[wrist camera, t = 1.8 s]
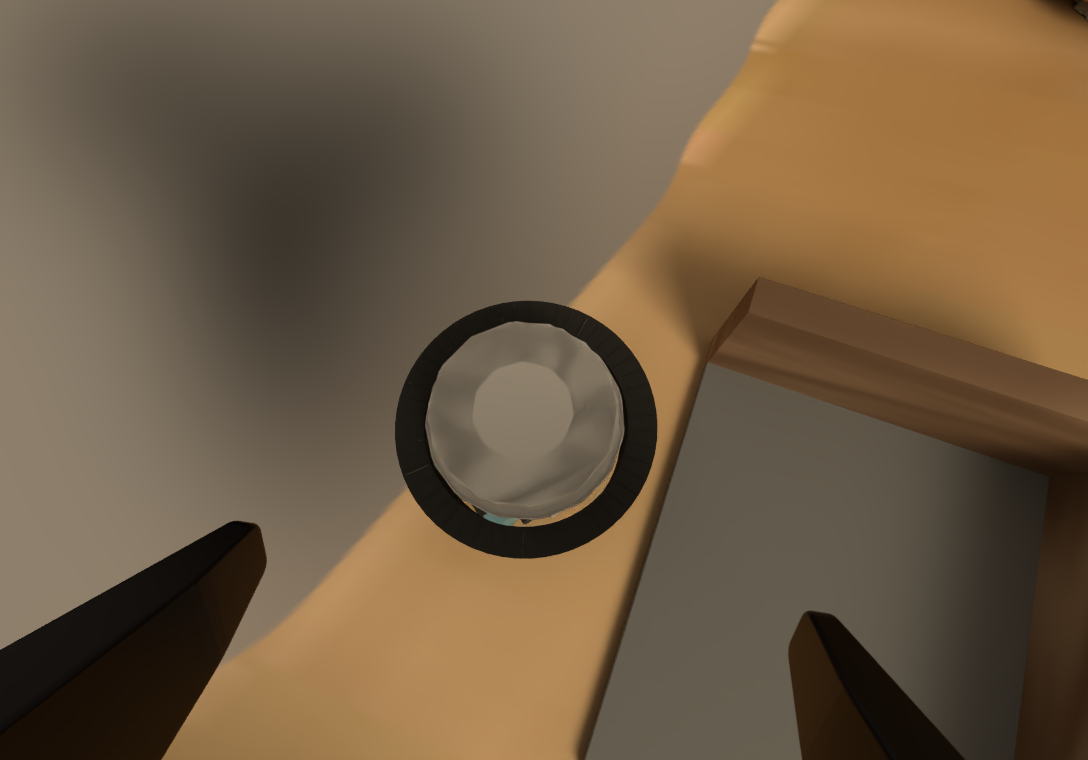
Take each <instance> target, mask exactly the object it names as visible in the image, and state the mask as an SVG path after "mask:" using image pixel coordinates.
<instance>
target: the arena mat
mask: <svg viewBox="0 0 1088 760" xmlns="http://www.w3.org/2000/svg"><path fill="white" fill-rule="evenodd" d="M1048 484H1049V477H1048V476H1045V475H1042V474H1039V473H1036V472H1033V471H1030V470H1027V469H1024V468H1021V467H1018V466H1015V465H1012V464H1009V463H1007V462H1004V461H1001V460H998V459H995V458H992V457H989V456H986V455H983V454H980V453H977V452H974V451H971V450H968V449H965V448H962V447H959V446H956V445H953V444H950V443H947V442H944V441H941V440H938V439H935V438H932V437H929V436H926V435H923V434H920V433H917V432H914V431H911V430H908V429H905V428H902V427H899V426H896V425H893V424H890V423H887V422H884V421H881V420H878V419H875V418H872V417H869V416H866V415H863V414H860V413H857V412H854V411H851V410H848V409H845V408H842V407H839V406H836V405H833V404H831V403H828V402H825V401H822V400H819V399H816V398H813V397H810V396H807V395H804V394H801V393H798V392H795V391H792V390H789V389H786V388H783V387H780V386H777V385H774V384H771V383H768V382H765V381H762V380H759V379H756V378H753V377H750V376H747V375H744V374H741V373H738V372H735V371H732V370H729V369H726V368H723V367H720V366H717V365H714V364H711V363H707V364H706V365H705V368H704V371H703V374H702V377H701V380H700V384H699V387H698V390H697V393H696V397H695V400H694V403H693V406H692V410H691V413H690V416H689V419H688V423H687V426H686V429H685V432H684V436H683V439H682V442H681V445H680V448H679V452H678V455H677V458H676V461H675V465H674V468H673V471H672V474H671V478H670V481H669V484H668V487H667V491H666V494H665V497H664V500H663V503H662V507H661V510H660V513H659V516H658V520H657V523H656V526H655V529H654V533H653V536H652V539H651V542H650V546H649V549H648V552H647V555H646V559H645V562H644V565H643V568H642V571H641V575H640V578H639V581H638V584H637V588H636V591H635V594H634V597H633V601H632V604H631V607H630V610H629V614H628V617H627V620H626V623H625V627H624V630H623V633H622V636H621V639H620V643H619V646H618V649H617V652H616V656H615V659H614V662H613V665H612V669H611V672H610V675H609V678H608V682H607V685H606V688H605V691H604V695H603V698H602V701H601V704H600V707H599V711H598V714H597V717H596V720H595V724H594V727H593V730H592V733H591V737H590V740H589V743H588V746H587V750H586V753H585V756H584V759H583V760H802V756H801V750H800V743H799V736H798V728H797V720H796V713H795V705H794V698H793V690H792V682H791V675H790V667H789V659H788V648H789V643H790V640H791V638H792V636H793V634H794V632H795V630H796V627H797V625H798V623H799V621H800V619H801V617H802V615H803V613H804V612H806V611H809V610H811V611H818V612H824V613H830V614H832V615H834V616H835V617H837V618H838V619H839V620H840V621H841V623H842V624H843V625H844V626H845V627H846V628H847V629H848V630H849V631H850V633H851V634H852V635H853V636H854V637H855V638H856V639H857V640H858V641H859V642H860V644H861V645H862V646H863V647H864V648H865V649H866V650H867V651H868V652H869V653H870V655H871V656H872V657H873V658H874V659H875V660H876V661H877V662H878V663H879V664H880V666H881V667H882V668H883V669H884V670H885V671H886V672H887V673H888V674H889V675H890V677H891V678H892V679H893V680H894V681H895V682H896V683H897V684H898V685H899V686H900V688H901V689H902V690H903V691H904V692H905V693H906V694H907V695H908V696H909V697H910V699H911V700H912V701H913V702H914V703H915V704H916V705H917V706H918V707H919V709H920V710H921V711H922V712H923V713H924V714H925V715H926V716H927V717H928V718H929V720H930V721H931V722H932V723H933V724H934V725H935V726H936V727H937V728H938V729H939V731H940V732H941V733H942V734H943V735H944V736H945V737H946V738H947V739H948V740H949V742H950V743H951V744H952V745H953V746H954V747H955V748H956V749H957V750H958V751H959V753H960V754H961V755H962V756H963V757H964V758H965V759H966V760H1014V753H1015V745H1016V737H1017V729H1018V721H1019V714H1020V706H1021V698H1022V690H1023V682H1024V674H1025V666H1026V658H1027V650H1028V642H1029V635H1030V627H1031V619H1032V611H1033V603H1034V595H1035V587H1036V579H1037V571H1038V563H1039V556H1040V548H1041V540H1042V532H1043V524H1044V516H1045V508H1046V500H1047V492H1048Z"/></svg>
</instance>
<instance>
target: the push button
mask: <svg viewBox="0 0 1088 760" xmlns="http://www.w3.org/2000/svg"><path fill="white" fill-rule="evenodd" d="M395 441H396V450H397V456H398V460H399V465H400V468H401V471H402V474H403V477H404V479H405V482H406V484H407V486H408V488H409V490H410V492H411V494H412V495H413V497H414V499H415V500H416V502H417V503H418V505H419V506H420V507H421V509H422V510H423V511H424V512H425V514H426V515H427V516H428V517H429V518H430V519H431V520H432V521H433V522H434V523H435V524H436V525H437V526H438V527H440V528H441V529H442V530H443V531H444V532H446V533H447V534H448V535H450V536H451V537H453V538H455V539H456V540H458V541H459V542H461V543H463V544H465V545H467V546H469V547H471V548H474V549H476V550H479V551H482V552H485V553H488V554H492V555H496V556H501V557H508V558H529V559H531V558H541V557H548V556H552V555H557V554H561V553H564V552H567V551H570V550H573V549H575V548H578V547H580V546H582V545H584V544H586V543H588V542H590V541H591V540H593V539H595V538H596V537H598V536H600V535H601V534H602V533H604V532H605V531H606V530H608V529H609V528H610V527H611V526H613V525H614V524H615V523H616V522H617V521H618V520H619V519H620V518H621V517H622V516H623V515H624V514H625V512H626V511H627V510H628V509H629V508H630V506H631V505H632V504H633V502H634V501H635V499H636V498H637V496H638V495H639V493H640V491H641V489H642V487H643V485H644V483H645V482H646V480H647V477H648V474H649V472H650V469H651V466H652V462H653V458H654V455H655V449H656V442H657V414H656V407H655V402H654V397H653V394H652V390H651V387H650V384H649V382H648V379H647V377H646V375H645V372H644V371H643V369H642V367H641V365H640V363H639V362H638V360H637V359H636V357H635V356H634V354H633V353H632V352H631V350H630V349H629V348H628V347H627V346H626V344H625V343H624V342H623V341H622V340H621V339H620V338H619V337H618V336H617V335H616V334H615V333H614V332H613V331H611V330H610V329H609V328H607V327H606V326H605V325H603V324H602V323H600V322H599V321H597V320H595V319H594V318H592V317H590V316H588V315H586V314H584V313H582V312H580V311H578V310H575V309H572V308H569V307H566V306H562V305H558V304H554V303H548V302H540V301H517V302H516V301H515V302H508V303H501V304H498V305H493V306H490V307H487V308H484V309H481V310H478V311H476V312H474V313H471V314H470V315H467V316H465V317H463V318H462V319H460V320H458V321H457V322H455V323H453V324H452V325H451V326H449V327H448V328H447V329H445V330H444V331H443V332H442V333H440V334H439V335H438V336H437V337H436V338H435V339H434V340H433V341H432V342H431V343H430V344H429V345H428V346H427V348H426V349H425V350H424V351H423V353H422V354H421V355H420V356H419V358H418V359H417V361H416V362H415V364H414V366H413V367H412V369H411V371H410V373H409V375H408V377H407V379H406V381H405V384H404V386H403V389H402V392H401V395H400V398H399V403H398V407H397V413H396V422H395ZM619 449H620V451H619ZM618 452H619V456H618V461H617V464H616V467H615V470H614V473H613V475H612V477H611V479H610V481H609V483H608V484H607V486H606V488H605V489H604V491H603V492H602V493H601V494H600V495H599V496H598V497H597V498H596V499H595V500H594V501H593V502H592V503H590V504H589V505H588V506H586V507H585V508H584V509H582V510H581V511H579V512H577V513H576V514H574V515H572V516H570V517H568V518H565V519H563V520H561V521H558V522H554V523H551V524H547V525H541V526H534V527H516V526H511V525H513V524H514V522H515V521H517V520H518V519H521V521H522V522H523V524H527V523H529V522H530V521H532V520H535V519H543V518H546V517H549V516H550V517H551V518H553V517H555V516H556V515H558V514H559V513H560V512H562V511H564V510H567V509H570V508H572V507H575V506H576V505H578V504H580V503H581V502H583V501H584V500H585V499H586V498H587V497H588V496H589V495H590V494H591V493H592V492H593V491H594V490H595V489H596V488H597V487H598V486H599V485H600V484H601V483H602V482H603V481H604V480H605V479H606V478H607V476H608V475H609V473H610V472H611V470H612V468H613V465H614V463H615V460H616V457H617V454H618ZM459 497H460V498H461V499H463V500H464V501H466V502H468V503H470V504H472V506H473V507H474V509H475V510H476V512H477V513H478V514H477V513H476V512H474V511H473V510H472V509H470V508H469V507H468V506H467V505H466V504H465V503H464V502H463V501H462V500H461V499H460V498H459Z"/></svg>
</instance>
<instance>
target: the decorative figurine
mask: <svg viewBox="0 0 1088 760" xmlns="http://www.w3.org/2000/svg"><path fill="white" fill-rule="evenodd" d="M1073 1H1075V2H1076V3H1077V4H1076V6H1075V7H1074V8H1075V9H1076V10H1077V11H1078V12H1079V13H1081V14H1082V16H1086V17H1087V19H1086V20H1088V0H1073Z"/></svg>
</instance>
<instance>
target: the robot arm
mask: <svg viewBox="0 0 1088 760" xmlns="http://www.w3.org/2000/svg"><path fill="white" fill-rule="evenodd" d="M266 563H267V557H266V553H265V547H264V543H263V538H262V533H261V529H260V527H259V526H258V525H257V524H255V523H249V522H243V521H232V522H229V523H227V524H225V525H224V526H222V527H220V528H218V529H217V530H215V531H213V532H211V533H209V534H207V535H206V536H204V537H202V538H200V539H199V540H197V541H195V542H193V543H192V544H190V545H188V546H186V547H184V548H182V549H181V550H179V551H177V552H175V553H173V554H172V555H170V556H168V557H166V558H164V559H163V560H161V561H159V562H157V563H155V564H154V565H152V566H150V567H148V568H146V569H145V570H143V571H141V572H139V573H137V574H136V575H134V576H132V577H130V578H129V579H127V580H125V581H123V582H121V583H120V584H118V585H116V586H114V587H113V588H111V589H109V590H107V591H105V592H103V593H102V594H100V595H98V596H96V597H94V598H93V599H91V600H89V601H87V602H85V603H84V604H82V605H80V606H78V607H77V608H75V609H73V610H71V611H70V612H67V613H66V614H64V615H62V616H60V617H59V618H57V619H55V620H53V621H51V622H50V623H48V624H46V625H44V626H42V627H41V628H39V629H37V630H35V631H33V632H32V633H30V634H28V635H26V636H25V637H23V638H21V639H19V640H17V641H15V642H14V643H12V644H10V645H8V646H7V647H5V648H3V649H1V650H0V760H161V759H162V758H163V756H164V754H165V753H166V751H167V750H168V748H169V746H170V745H171V743H172V741H173V740H174V738H175V736H176V735H177V733H178V731H179V730H180V728H181V726H182V725H183V723H184V722H185V720H186V718H187V717H188V715H189V713H190V712H191V710H192V708H193V707H194V705H195V703H196V702H197V700H198V699H199V697H200V695H201V694H202V692H203V690H204V689H205V687H206V685H207V684H208V682H209V680H210V679H211V677H212V675H213V674H214V672H215V670H216V669H217V667H218V665H219V663H220V662H221V660H222V658H223V656H224V654H225V652H226V650H227V648H228V647H229V645H230V642H231V640H232V638H233V636H234V634H235V632H236V630H237V628H238V626H239V624H240V621H241V620H242V618H243V615H244V613H245V611H246V609H247V607H248V605H249V603H250V601H251V599H252V597H253V595H254V593H255V590H256V588H257V586H258V584H259V582H260V580H261V578H262V576H263V574H264V571H265V568H266ZM788 659H789V667H790V675H791V682H792V690H793V698H794V705H795V713H796V720H797V728H798V736H799V743H800V750H801V756H802V760H966V759H965V758H964V757H963V756H962V755H961V754H960V753H959V751H958V750H957V749H956V748H955V747H954V746H953V745H952V744H951V743H950V742H949V740H948V739H947V738H946V737H945V736H944V735H943V734H942V733H941V732H940V731H939V729H938V728H937V727H936V726H935V725H934V724H933V723H932V722H931V721H930V720H929V718H928V717H927V716H926V715H925V714H924V713H923V712H922V711H921V710H920V709H919V707H918V706H917V705H916V704H915V703H914V702H913V701H912V700H911V699H910V697H909V696H908V695H907V694H906V693H905V692H904V691H903V690H902V689H901V688H900V686H899V685H898V684H897V683H896V682H895V681H894V680H893V679H892V678H891V677H890V675H889V674H888V673H887V672H886V671H885V670H884V669H883V668H882V667H881V666H880V664H879V663H878V662H877V661H876V660H875V659H874V658H873V657H872V656H871V655H870V653H869V652H868V651H867V650H866V649H865V648H864V647H863V646H862V645H861V644H860V642H859V641H858V640H857V639H856V638H855V637H854V636H853V635H852V634H851V633H850V631H849V630H848V629H847V628H846V627H845V626H844V625H843V624H842V623H841V621H840V620H839V619H838V618H837V617H835V616H834V615H832V614H830V613H824V612H818V611H811V610H809V611H806V612H804V613H803V615H802V617H801V619H800V621H799V623H798V625H797V627H796V630H795V632H794V634H793V636H792V638H791V640H790V643H789V648H788Z"/></svg>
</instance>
